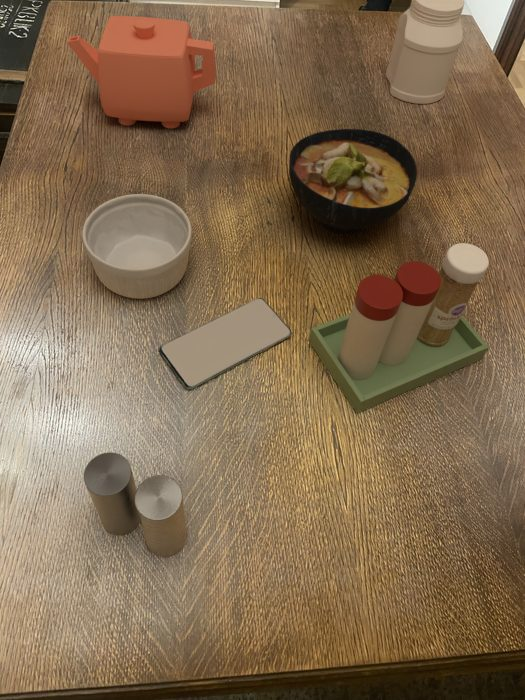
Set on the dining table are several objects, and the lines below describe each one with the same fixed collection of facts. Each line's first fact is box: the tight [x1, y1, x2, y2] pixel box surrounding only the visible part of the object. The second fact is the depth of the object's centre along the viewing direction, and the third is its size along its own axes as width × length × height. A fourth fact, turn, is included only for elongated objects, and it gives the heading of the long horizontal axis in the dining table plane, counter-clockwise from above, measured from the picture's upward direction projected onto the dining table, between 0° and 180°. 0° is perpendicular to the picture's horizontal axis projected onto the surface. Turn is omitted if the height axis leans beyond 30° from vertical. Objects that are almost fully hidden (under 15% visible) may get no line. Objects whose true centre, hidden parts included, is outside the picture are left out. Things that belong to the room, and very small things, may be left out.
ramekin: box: [81, 193, 193, 300], centre depth 76 cm, size 13×13×7 cm
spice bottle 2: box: [379, 260, 441, 366], centre depth 68 cm, size 5×5×13 cm
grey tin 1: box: [83, 452, 141, 536], centre depth 56 cm, size 4×4×10 cm
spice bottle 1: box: [337, 274, 403, 380], centre depth 66 cm, size 5×5×13 cm
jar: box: [385, 0, 465, 105], centre depth 103 cm, size 12×10×15 cm
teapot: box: [67, 15, 217, 129], centre depth 94 cm, size 22×13×14 cm, turn 89°
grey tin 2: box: [134, 474, 188, 558], centre depth 55 cm, size 4×4×10 cm
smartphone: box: [158, 297, 292, 390], centre depth 73 cm, size 7×1×15 cm
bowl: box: [288, 128, 418, 235], centre depth 84 cm, size 17×17×10 cm
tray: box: [308, 313, 490, 414], centre depth 73 cm, size 18×11×3 cm, turn 117°
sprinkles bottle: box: [417, 242, 490, 346], centre depth 70 cm, size 5×5×13 cm
